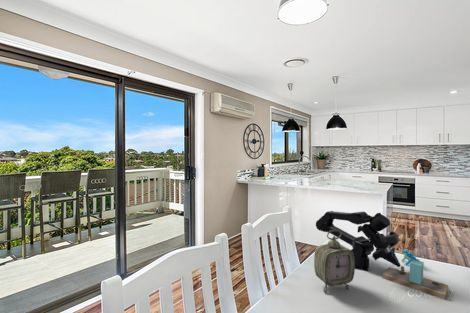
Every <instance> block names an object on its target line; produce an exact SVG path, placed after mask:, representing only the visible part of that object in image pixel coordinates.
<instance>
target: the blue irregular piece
mask: <svg viewBox="0 0 470 313" xmlns="http://www.w3.org/2000/svg"><path fill="white" fill-rule="evenodd" d="M402 252H403V258H401V262H404V261H405V260H407V261H406V262H405V263H404V265H406V266H408V265H410V262H411V261H412V259H413V260H417V261H421V260H420V259H417V256H415V255H413V254H412V252H410V251H408V250H406V249H403V250H402Z"/></svg>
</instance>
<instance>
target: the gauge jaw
mask: <svg viewBox="0 0 470 313" xmlns="http://www.w3.org/2000/svg"><path fill="white" fill-rule="evenodd" d="M424 266H425V262H424V261H421V260H420V261H417V260H413V259H412V261H411V262H410V263H409V272H408V273H409V281H410V282H413V283H416V284H419V285H421V283H422V281H423V277H424Z"/></svg>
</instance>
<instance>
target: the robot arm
mask: <svg viewBox="0 0 470 313" xmlns="http://www.w3.org/2000/svg"><path fill="white" fill-rule="evenodd" d="M335 220H337V221H346V222H347V221H348V222H350V223H351V224H354V225H358V226H357V233H361V232H362V233H363V235H364V236H363V235H361V236H357V237H356V236H354V235H352V234H350V233H348V232H347V231H345V230H344V229H341V228H339V227H337V226H335V225H334V221H335ZM315 226H316V229H317V230H318V231H321V232H322V233H323V232H324V233H328V232H329V231H331V230H339V231H340V232H341V237H340V238H339V239H340V240H341V241H343V242H345V244H349V245H350V246H351V247H352V249H350V250H351V251H353V253H354V256H355V269H357V270H362V271H366V272H367V271H369V268H370V257H369V255H370V256H371V255H372V258H373V259H374V260H375V261H377V260H379V259H383V260H385V261H387V262H389V263H390V264H392V265H394V266H396V267H397V268H401V266H402V264H401V263H400V261H399V259H398V257H397V255H396V253H395V252H396V247H394V246H396V245H398V243H399V242H401V239H400V235H399V234H398V233H397V232H395V231H394V230H393V231H389V234H387V235H385V234H383V233H380V232H382V231H383V230H384V229H387V228H388V227H389V226H391V221H390V219H389V218H388V217H387V216H385V215H383V214H382V213H381V212H377V213H376V214H374V215H373V216H372V215H369V214H368V213H367V212H366V211H356V212H345V211H343V212H342V211H333V210H330V211H326V212H325V213H324V214H323V215H321V217H320V218H318V219H317V220H316V222H315ZM329 234H331V235H332V236H335V238H337V237H339V236H340V233H339V232H338V231H333V232H330V233H329Z"/></svg>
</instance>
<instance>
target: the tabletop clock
mask: <svg viewBox="0 0 470 313" xmlns="http://www.w3.org/2000/svg"><path fill="white" fill-rule="evenodd" d="M333 231H338V232H339V233H340V236H339V237H336V236H334V235H332V238H331V237H329V234H331V233H330V232H333ZM340 237H341V232H340V231H339V230H331V231H329V232H327V234H326V238H327V239H328V242H327V243H326V244H321V245H317V246H316V247H315V249H314V257H313V262H314V265H313V266H314V273H315V276H316V277H317V278H318V279H319V280H321V281H322V282H323V283H324V285H325V286H324V287H325V288H323V293H325V294H327V293H328V289H327V288H328V286H329V287H335V286H337V287H338V286H342V285H345V289H346V290H350V285H349V283H351V282H352V281H353V279H354V277H355V269H356V268H355V256H354V253H353V251H351V250H352V249H349V248H348V247H345V246H344V245H342V244H341V243H340V242H339V241H338V239H339V238H340Z"/></svg>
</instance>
